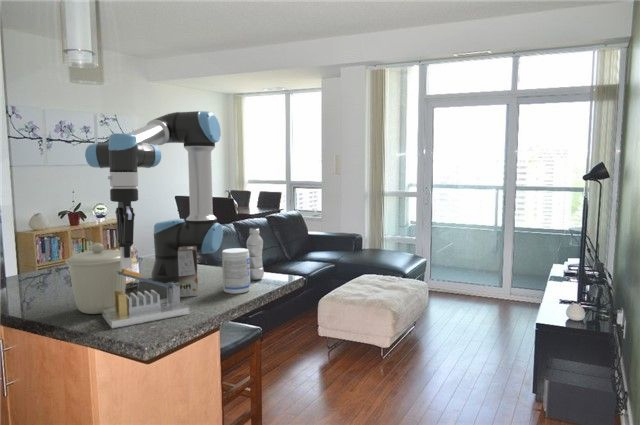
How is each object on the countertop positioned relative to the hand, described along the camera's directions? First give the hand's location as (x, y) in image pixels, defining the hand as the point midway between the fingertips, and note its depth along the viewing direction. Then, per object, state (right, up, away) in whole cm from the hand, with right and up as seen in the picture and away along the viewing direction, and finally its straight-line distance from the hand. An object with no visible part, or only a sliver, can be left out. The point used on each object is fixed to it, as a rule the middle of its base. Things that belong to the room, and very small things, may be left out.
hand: (126, 268), depth 143 cm
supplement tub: (+27, -12, +31) cm, 43 cm away
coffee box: (+11, -12, +28) cm, 33 cm away
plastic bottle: (+32, -10, +47) cm, 58 cm away
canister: (-12, -14, +10) cm, 21 cm away
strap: (+5, -5, +4) cm, 8 cm away
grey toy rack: (+4, -15, +5) cm, 16 cm away
